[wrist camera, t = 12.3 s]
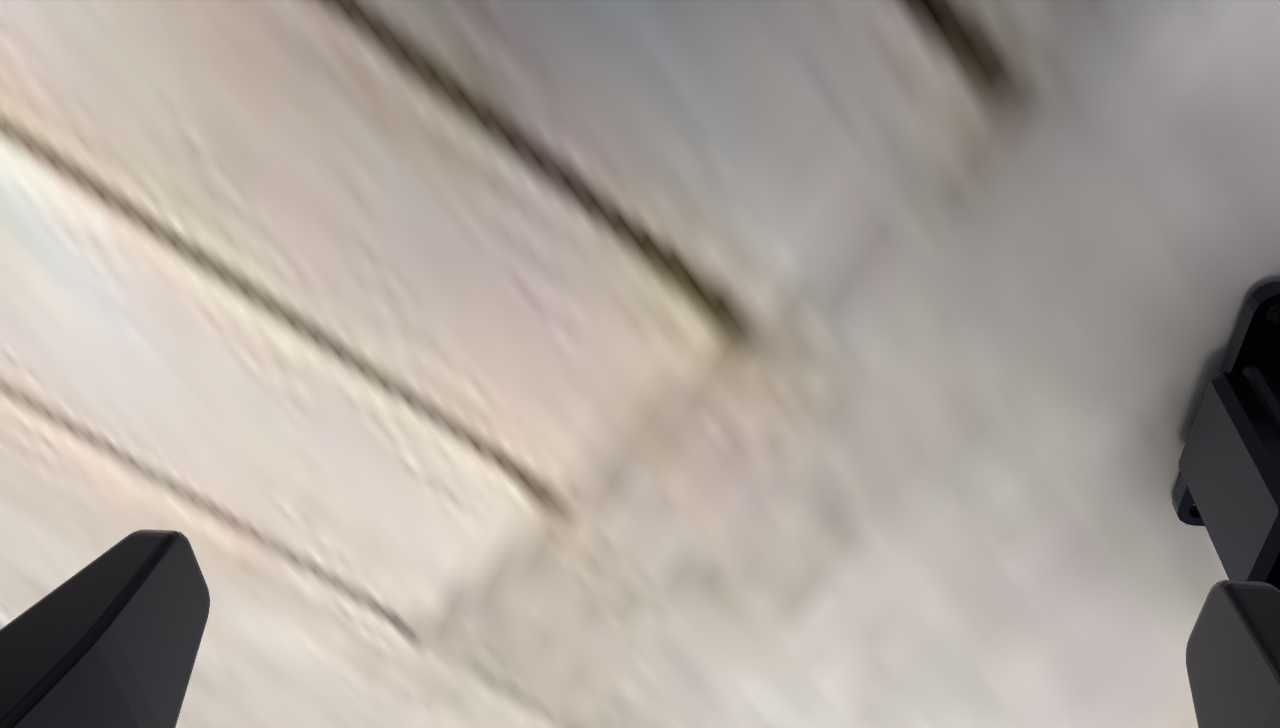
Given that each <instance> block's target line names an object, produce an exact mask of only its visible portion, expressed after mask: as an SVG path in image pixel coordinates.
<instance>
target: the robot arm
mask: <svg viewBox="0 0 1280 728" xmlns="http://www.w3.org/2000/svg"><path fill="white" fill-rule="evenodd" d="M1276 304H1280V282H1274V283H1269V284H1267V285H1264V286H1262V287H1260V288H1258V289H1257V290H1256V291H1255V292H1254V293H1252V294H1251V296H1250V297H1249V299H1248V301H1247V302H1246V305H1245V308H1244V310H1243V313H1242V316H1241V318H1240V321H1239V324H1238V326H1237V329H1236V331H1235V334H1234V337H1233V339H1232V342H1231V345H1230V347H1229V350H1228V352H1227V355H1226V358H1225V360H1224V363H1223V366H1222V368H1221V371H1220V373H1217V374H1216V375H1215V376H1214V377H1213V378H1212V379H1211V380H1210V381H1209V383H1208V385H1207V388H1206V391H1205V393H1204V396H1203V399H1202V401H1201V404H1200V407H1199V409H1198V412H1197V415H1196V418H1195V420H1194V423H1193V426H1192V428H1191V431H1190V434H1189V436H1188V439H1187V442H1186V444H1185V447H1184V450H1183V452H1182V455H1181V458H1180V460H1179V468H1180V471H1181V473H1182V474H1181V476H1180V479H1179V482H1178V484H1177V487H1176V490H1175V492H1174V495H1173V499H1172V504H1173V506H1174V509H1175V511H1176V513H1177V515H1178V517H1179V519H1180V520H1181V521H1182V522H1184V523H1185V524H1189V525H1195V526H1206V529H1207V531H1208V533H1209V535H1210V538H1211V540H1212V542H1213V544H1214V547H1215V549H1216V551H1217V553H1218V555H1219V558H1220V560H1221V562H1222V564H1223V567H1224V569H1225V571H1226V573H1227V576H1228V578H1229V580H1223V581H1219V582H1218V583H1216V584H1215V585H1214V586H1213V587H1212V588H1211V590H1210V592H1209V594H1208V596H1207V598H1206V601H1205V603H1204V605H1203V608H1202V610H1201V612H1200V614H1199V617H1198V619H1197V621H1196V623H1195V626H1194V628H1193V630H1192V633H1191V635H1190V637H1189V640H1188V643H1187V649H1186V666H1187V672H1188V677H1189V682H1190V687H1191V692H1192V698H1193V703H1194V708H1195V713H1196V718H1197V723H1198V728H1280V310H1278V311H1276V312H1271V313H1267V312H1268V311H1269V309H1270V308H1271V307H1273V306H1275V305H1276ZM1194 504H1196V505H1195V506H1192V505H1194ZM209 607H210V597H209V591H208V587H207V585H206V582H205V580H204V577H203V575H202V572H201V570H200V567H199V565H198V562H197V560H196V557H195V555H194V552H193V550H192V547H191V545H190V542H189V540H188V539H187V537H186V536H184V535H183V534H182V533H181V532H178V531H167V530H139V531H136V532H133V533H131V534H130V535H128V536H127V537H125V538H124V539H123V540H121V541H120V542H118V543H117V544H116V545H114V546H113V547H112V548H110V549H109V550H108V551H106V552H105V553H104V554H102V555H101V556H100V557H98V558H97V559H95V560H94V561H93V562H91V563H90V564H89V565H87V566H86V567H85V568H83V569H82V570H81V571H79V572H78V573H77V574H75V575H74V576H72V577H71V578H70V579H68V580H67V581H66V582H64V583H63V584H62V585H60V586H59V587H58V588H56V589H55V590H53V591H52V592H51V593H49V594H48V595H47V596H45V597H44V598H43V599H41V600H40V601H39V602H37V603H36V604H35V605H33V606H32V607H30V608H29V609H28V610H26V611H25V612H24V613H22V614H21V615H20V616H18V617H17V618H16V619H14V620H13V621H12V622H10V623H9V624H7V625H6V626H5V627H3V628H2V629H1V630H0V728H175V727H176V724H177V720H178V717H179V713H180V710H181V707H182V703H183V700H184V697H185V693H186V690H187V686H188V683H189V680H190V676H191V673H192V669H193V666H194V663H195V659H196V656H197V652H198V649H199V646H200V642H201V639H202V635H203V632H204V629H205V625H206V622H207V618H208V614H209Z"/></svg>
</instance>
